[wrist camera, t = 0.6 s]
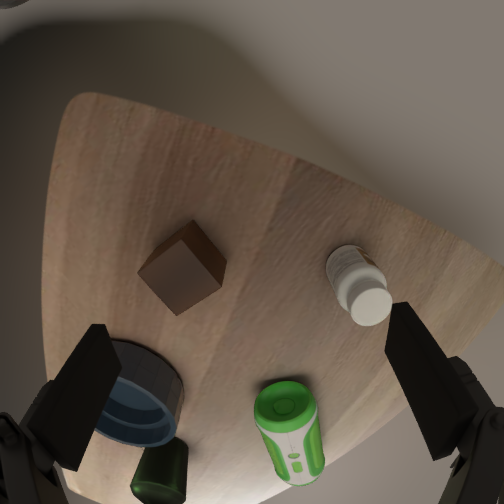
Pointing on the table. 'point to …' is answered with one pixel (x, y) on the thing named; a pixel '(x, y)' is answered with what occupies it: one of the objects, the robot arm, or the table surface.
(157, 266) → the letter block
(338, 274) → the pill bottle
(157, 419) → the blue round bin
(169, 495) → the potion bottle
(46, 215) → the table surface
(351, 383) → the table surface
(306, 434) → the speaker
